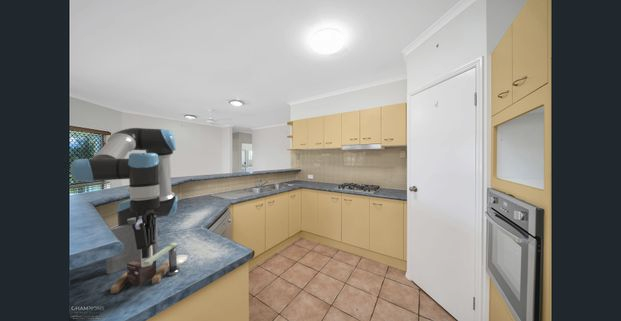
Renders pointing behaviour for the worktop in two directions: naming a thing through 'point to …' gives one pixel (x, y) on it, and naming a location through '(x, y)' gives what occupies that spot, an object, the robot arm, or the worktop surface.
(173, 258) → the latch post
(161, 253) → the bar
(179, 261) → the trivet
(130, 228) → the hip flask
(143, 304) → the worktop surface
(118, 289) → the cradle
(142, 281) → the box
